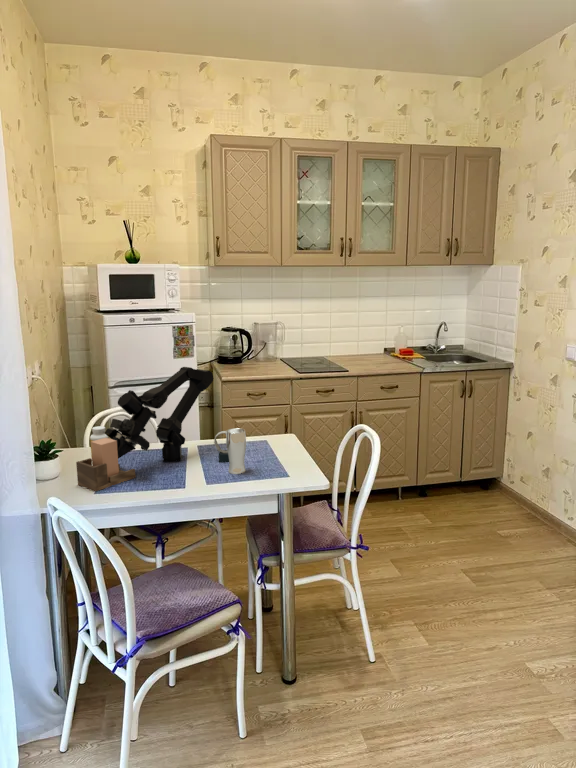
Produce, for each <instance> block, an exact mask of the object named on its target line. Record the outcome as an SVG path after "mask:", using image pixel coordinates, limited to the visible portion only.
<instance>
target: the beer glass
mask: <svg viewBox="0 0 576 768" xmlns="http://www.w3.org/2000/svg"><path fill="white" fill-rule="evenodd" d="M226 431H227V434H225V436H226V439H225V445H226V450H227V452H228V456H229V462H228V474H231V475H241V473H242V474H245V473H246V471H247V470H246V465H245V457H246V450H247V436H246V429H244V428H241V427H240V428H239V427H236V428H235V427H234V428H229V429H227V430H226Z"/></svg>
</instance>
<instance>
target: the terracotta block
mask: <svg viewBox="0 0 576 768" xmlns="http://www.w3.org/2000/svg"><path fill="white" fill-rule="evenodd" d="M91 452H92V457H91V459H92V466H97V465H100V464H104V463H106V464H107V475H108V481H109V476H112V475H115V474H118V473H119V466H118V464H119V459H118V452H117V441H116V440H113V439H111V438H110V437H109V438H103V439H99V440H95V441H92V442H91V443H90V453H91Z"/></svg>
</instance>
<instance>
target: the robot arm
mask: <svg viewBox="0 0 576 768" xmlns="http://www.w3.org/2000/svg"><path fill="white" fill-rule="evenodd" d="M188 380H189V382H188V385H189V386H188V388H187V389H186V390H185V392H184V394H183V396H182V398H181V399H180V401H179V402H178V404H177V405H176V407H175V409H174V410H173V411H172V413H171V415H170V416H169V417H167V418H166V417H163V418H162V419H161V420H160V421H159V423H158V425H157V426H156V431H155V433H156V437H157V439H158V440H159V443H161V444H163V445H162V448H161V453H162V454H161V455H162V459H163V460H162V462H164V463H165V462H166V463H168V462H169V463H171V462H181V461H182V459H183V452H182V451H183V450H182V446H183V445H185V442H186V438H185V437H184V435H182V434H181V433H182V428H183V426H182V425H183V422H184V420H185V419H186V418H187V416H188V414H189V412H190V411H191V408H192V407H193V406H194V404H195V402H196V401H197V399H198V398H199V396H200V394H201V393H202V392H204V391H205V390H207V389H208V388H209V387H210V386H211V384H212V383H213V381H214V375H213V372H212V371H211V370H207V369H201V368H196V369H195V368H192V367H188V366H182V367H180V368H179V370H178V371H177V372H176V373H174V374H173V375H171V376H170V377H169V378H168V379H167V380H164V381H163V383H161V384H160V385H158V386H155V387H152V388H149V389H148V390H146V391H144V392H143V394H141V395H139V396H138V395H137V393H136V392H135V391H134V390H130V389H129V390H128V391H127V392H125V393H124V394H122V395H121V396H120V397H118V400H117V406H119V407H120V408H121V409H122V410H124V412H126V413H127V414H128V415H130V416H131V415H132V416H131V417H130V419H129V418H124V419H123V420H120V419H117V418H112V419H111V422H110V426H109V428H108V427H107V428H106V429H105V434H106V435H107V436H108V437H109V439H113V440H116V441H117V452H118V460H119V459H120V458H122V457H123V456H125V455H126V454H128V453H130V452H132V451H133V450H136V446H137V445H139V446H140V449H141V450H143V451H148V450H149V448H150V445H151V444H150V443H151V442H149V441H148V440H147V439H146V438H145V437H144V436H142V435H141V433H145V432H146V431H147V430H146V428H145V427H146V425H147V424H148V423H149V421H150V420H151V419H157V418H158V417H157V414H156V410H151V409H150V408H152V409H160V408H162V407H163V406H164V405H165V403H166V402H167V400H168V397H169V396H170V395H171V394H172V393H173V392H175V391H176V390H177V389H178V388H180V387H181V386H182V385H183V384H185V383H186V382H187V381H188Z"/></svg>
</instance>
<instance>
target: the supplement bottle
mask: <svg viewBox="0 0 576 768" xmlns="http://www.w3.org/2000/svg"><path fill="white" fill-rule="evenodd" d="M91 431H92V434H91V435H90V437H89V442H90V443H89V444H91V442H92V441H95V440H99V439H103V438H109V439H110V437H108V436H107V435H106V434H105V431H106V426H100V425H99V426H93V427H92V429H91ZM90 455H91V458H92V452H91V451H90Z"/></svg>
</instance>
